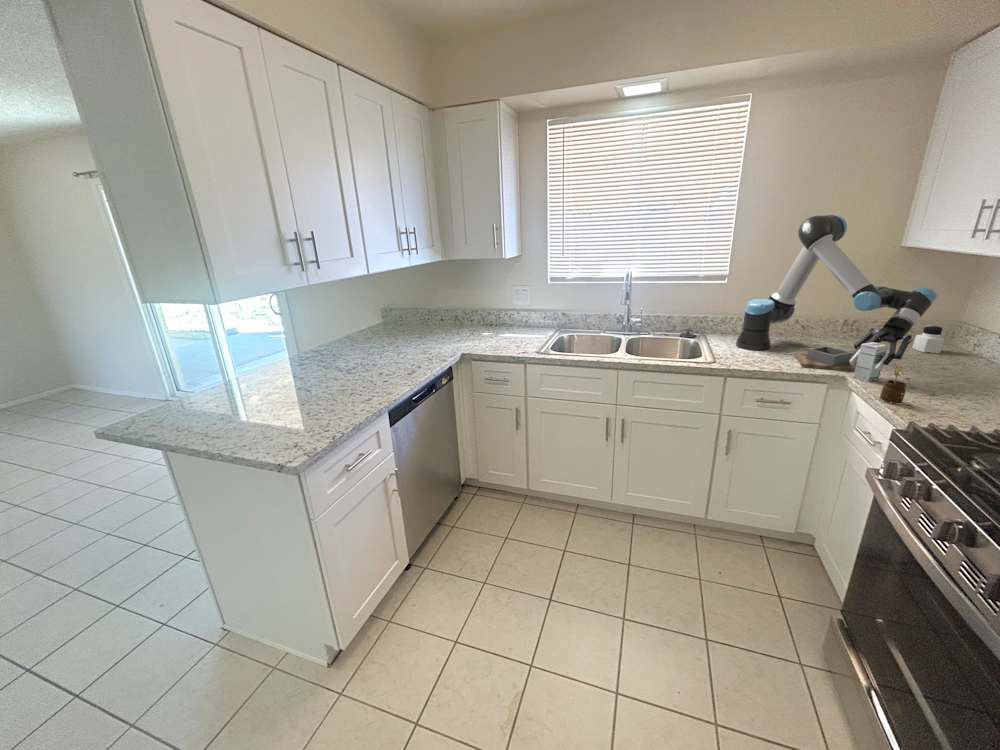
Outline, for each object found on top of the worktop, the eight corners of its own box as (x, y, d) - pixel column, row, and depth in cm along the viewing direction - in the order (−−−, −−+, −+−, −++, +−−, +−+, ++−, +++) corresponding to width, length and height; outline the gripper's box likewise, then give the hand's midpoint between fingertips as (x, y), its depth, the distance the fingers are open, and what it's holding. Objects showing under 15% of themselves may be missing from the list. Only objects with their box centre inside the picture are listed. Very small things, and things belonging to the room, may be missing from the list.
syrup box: (867, 382, 164) (878, 346, 159) (852, 377, 169) (861, 342, 164) (878, 380, 165) (889, 345, 160) (862, 375, 171) (872, 341, 166)
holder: (805, 358, 188) (807, 349, 186) (823, 355, 192) (825, 345, 190) (832, 366, 178) (835, 356, 176) (850, 362, 181) (853, 352, 180)
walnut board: (801, 366, 182) (802, 363, 182) (793, 355, 197) (794, 352, 196) (864, 372, 174) (865, 369, 173) (851, 360, 188) (852, 357, 188)
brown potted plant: (880, 402, 146) (890, 370, 142) (878, 396, 151) (887, 365, 147) (903, 405, 143) (914, 373, 139) (899, 399, 148) (910, 367, 144)
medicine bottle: (940, 353, 194) (949, 328, 190) (923, 353, 195) (931, 328, 191) (928, 349, 200) (936, 324, 196) (911, 348, 201) (919, 324, 197)
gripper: (937, 334, 156) (897, 380, 157) (873, 322, 175) (837, 364, 175) (933, 321, 153) (892, 369, 153) (868, 311, 171) (832, 353, 172)
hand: (863, 366), depth 164 cm, fingers open, 8 cm apart
